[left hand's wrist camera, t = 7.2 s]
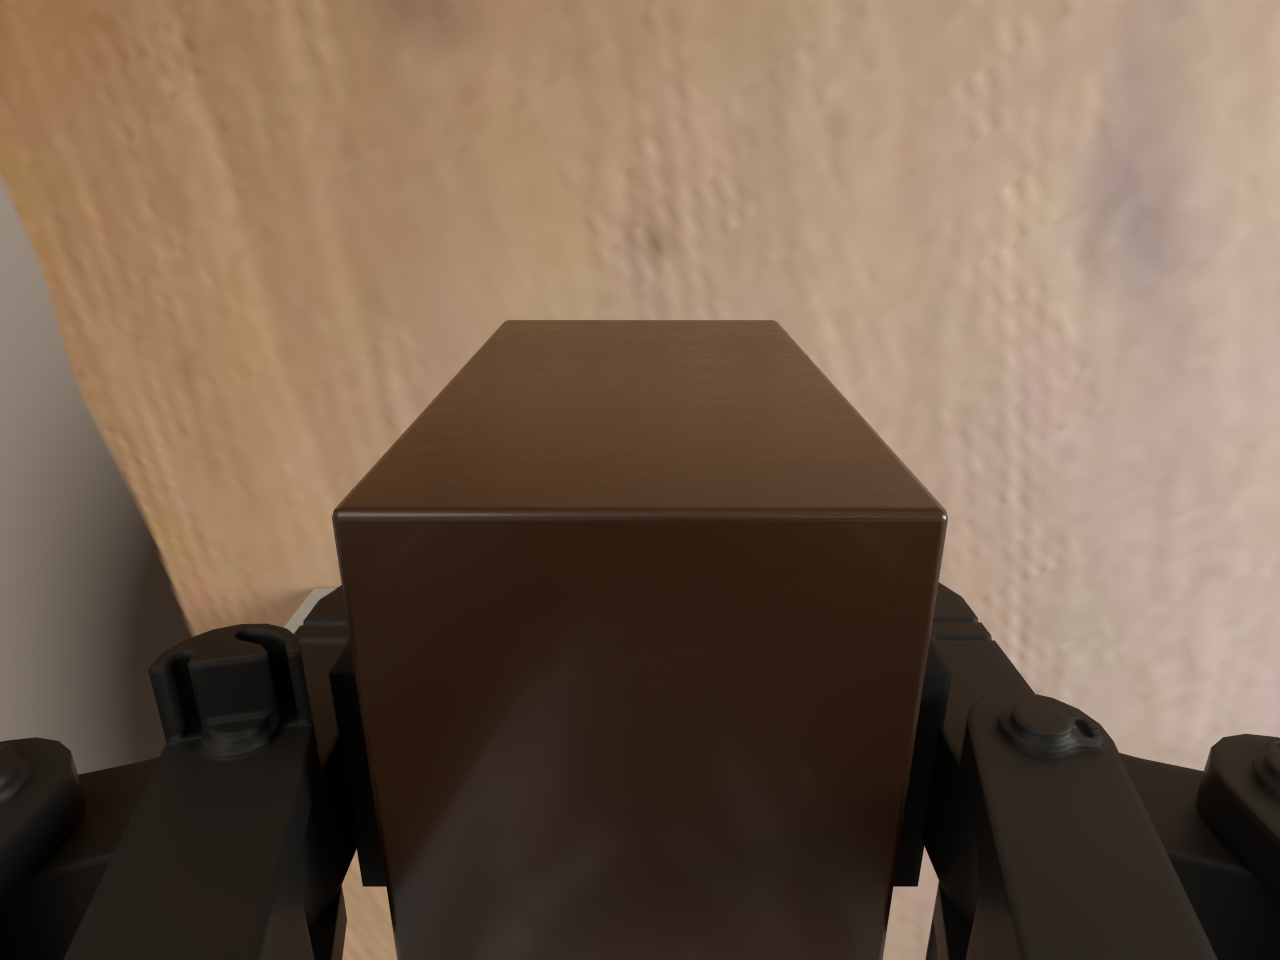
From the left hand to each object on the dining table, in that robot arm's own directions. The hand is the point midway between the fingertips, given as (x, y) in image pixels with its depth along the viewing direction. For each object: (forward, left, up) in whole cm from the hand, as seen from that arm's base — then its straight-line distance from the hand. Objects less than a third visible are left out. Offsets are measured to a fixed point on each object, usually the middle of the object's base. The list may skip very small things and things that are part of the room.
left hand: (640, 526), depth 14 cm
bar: (+9, 0, 0) cm, 9 cm away
